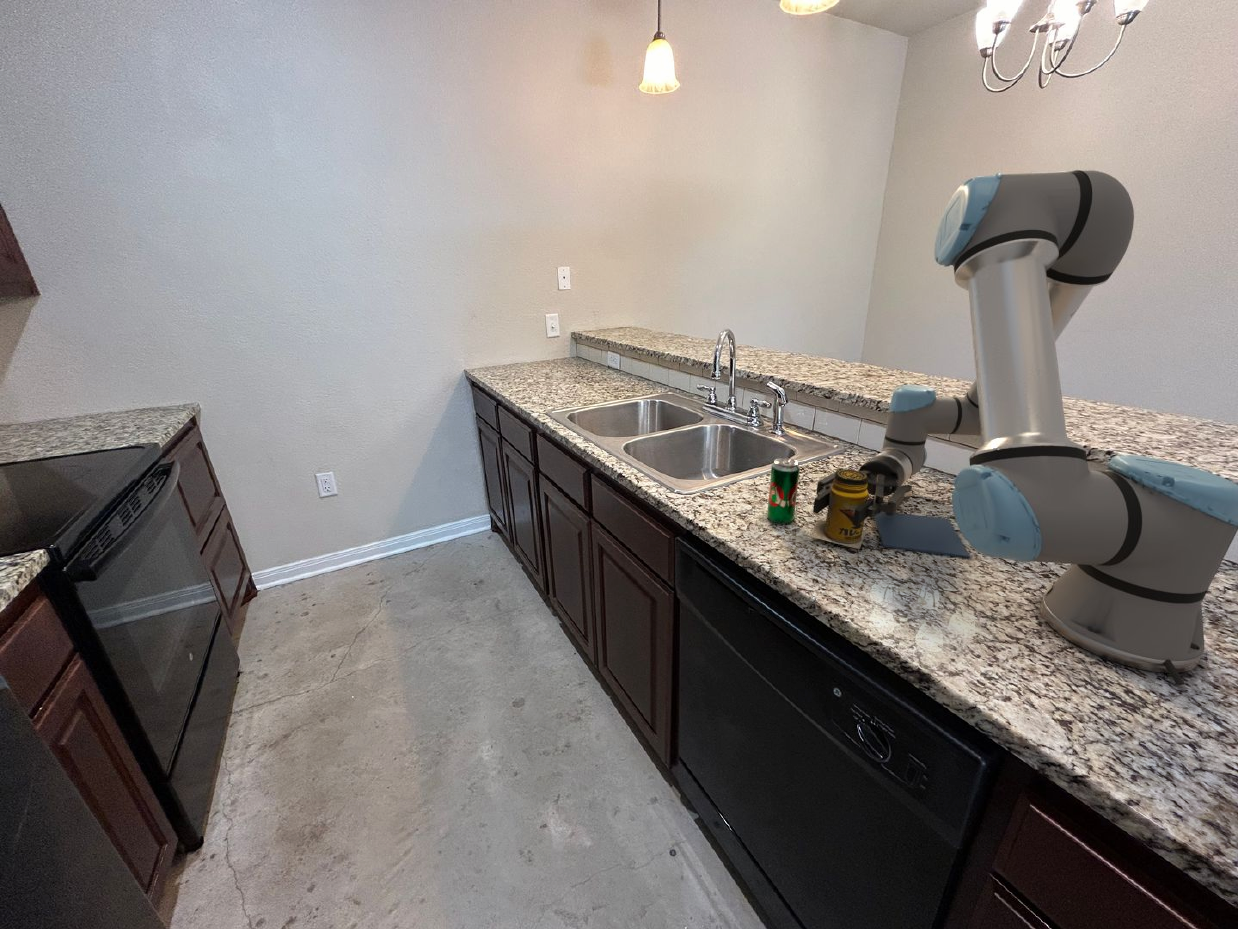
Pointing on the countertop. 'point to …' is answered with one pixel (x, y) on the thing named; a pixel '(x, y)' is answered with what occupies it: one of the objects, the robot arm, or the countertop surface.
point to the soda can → (783, 490)
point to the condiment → (844, 510)
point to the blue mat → (919, 534)
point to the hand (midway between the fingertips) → (835, 511)
